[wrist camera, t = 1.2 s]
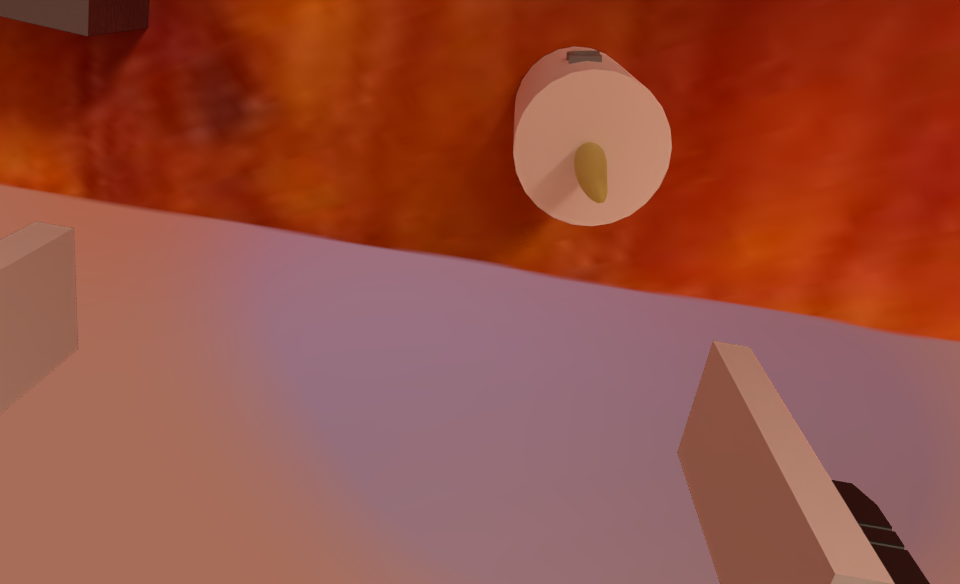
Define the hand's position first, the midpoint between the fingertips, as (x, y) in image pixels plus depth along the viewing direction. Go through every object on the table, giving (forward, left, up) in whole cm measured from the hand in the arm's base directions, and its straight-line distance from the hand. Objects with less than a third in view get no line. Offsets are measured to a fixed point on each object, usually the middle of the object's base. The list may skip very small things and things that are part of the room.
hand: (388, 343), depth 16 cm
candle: (-2, +5, -27) cm, 28 cm away
